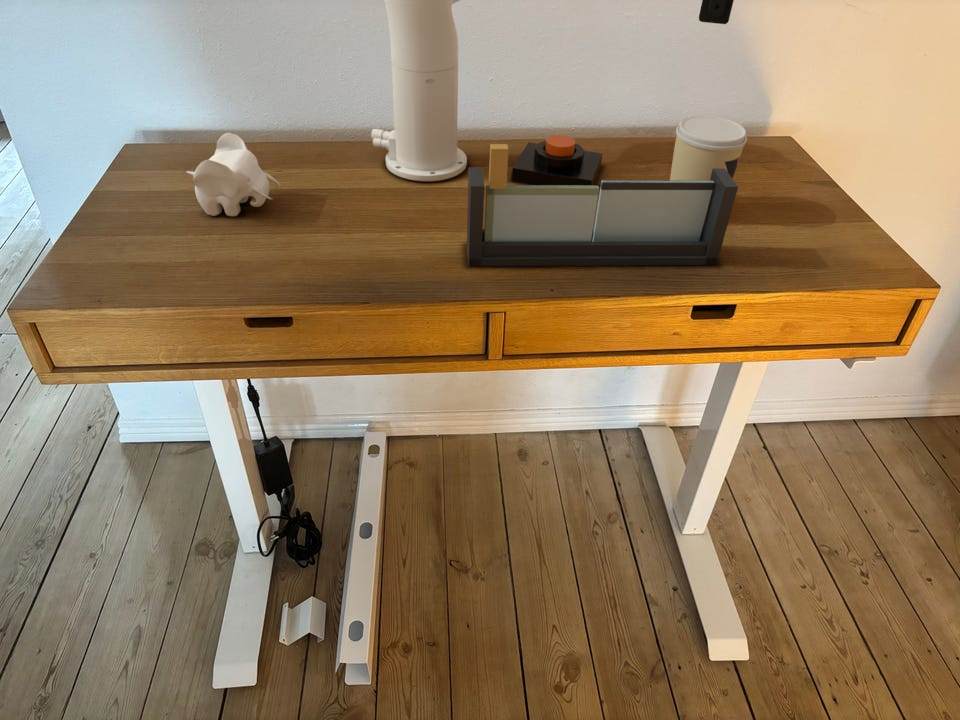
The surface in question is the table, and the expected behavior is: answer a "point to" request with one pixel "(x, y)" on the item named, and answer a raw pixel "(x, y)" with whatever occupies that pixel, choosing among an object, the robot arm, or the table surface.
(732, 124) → the coffee cup
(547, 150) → the button
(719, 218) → the window frame
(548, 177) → the switch box
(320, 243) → the table surface
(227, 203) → the elephant figurine
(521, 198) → the sliding pane
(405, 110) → the robot arm
